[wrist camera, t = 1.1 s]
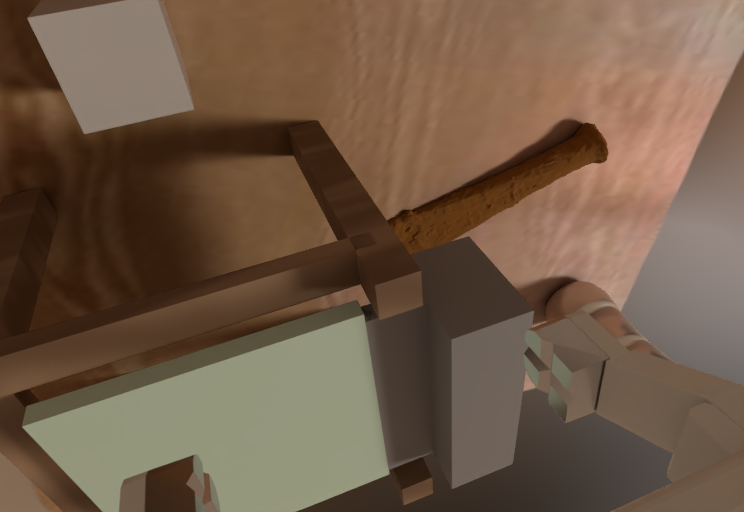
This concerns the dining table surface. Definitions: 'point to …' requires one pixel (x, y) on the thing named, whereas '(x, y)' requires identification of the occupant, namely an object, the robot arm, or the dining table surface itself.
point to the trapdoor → (315, 398)
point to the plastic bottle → (598, 314)
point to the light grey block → (113, 59)
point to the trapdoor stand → (189, 304)
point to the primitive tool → (496, 192)
